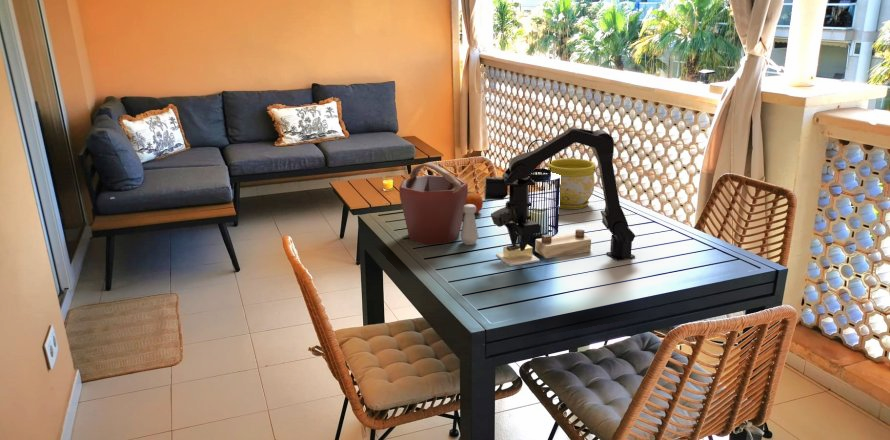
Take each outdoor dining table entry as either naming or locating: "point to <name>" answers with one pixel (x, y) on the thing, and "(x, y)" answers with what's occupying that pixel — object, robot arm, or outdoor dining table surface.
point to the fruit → (474, 200)
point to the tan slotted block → (517, 252)
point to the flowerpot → (574, 181)
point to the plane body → (563, 244)
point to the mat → (518, 260)
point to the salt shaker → (469, 225)
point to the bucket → (433, 205)
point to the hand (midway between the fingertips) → (517, 247)
